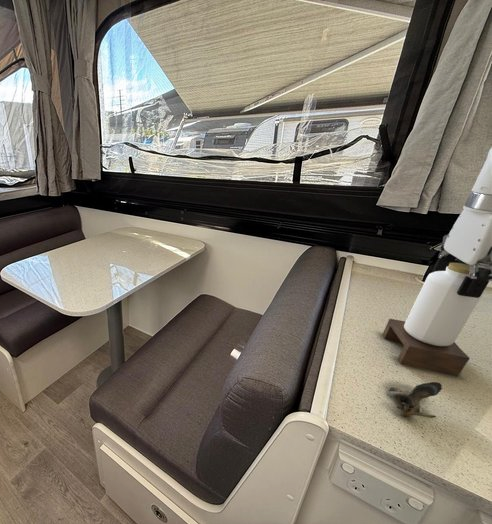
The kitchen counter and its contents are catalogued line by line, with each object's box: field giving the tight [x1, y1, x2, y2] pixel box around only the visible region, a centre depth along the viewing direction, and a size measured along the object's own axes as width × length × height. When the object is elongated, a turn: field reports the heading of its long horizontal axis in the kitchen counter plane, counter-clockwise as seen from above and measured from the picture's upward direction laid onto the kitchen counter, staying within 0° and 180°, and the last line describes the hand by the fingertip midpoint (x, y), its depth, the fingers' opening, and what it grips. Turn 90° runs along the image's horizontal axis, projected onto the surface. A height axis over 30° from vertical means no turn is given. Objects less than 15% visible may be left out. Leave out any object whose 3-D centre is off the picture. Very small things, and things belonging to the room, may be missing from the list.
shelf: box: [381, 318, 471, 378], centre depth 64 cm, size 10×11×6 cm
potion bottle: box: [404, 262, 486, 346], centre depth 59 cm, size 8×8×18 cm
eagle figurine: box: [386, 381, 443, 419], centre depth 51 cm, size 8×7×9 cm
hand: (453, 285), depth 57 cm, fingers open, 8 cm apart
